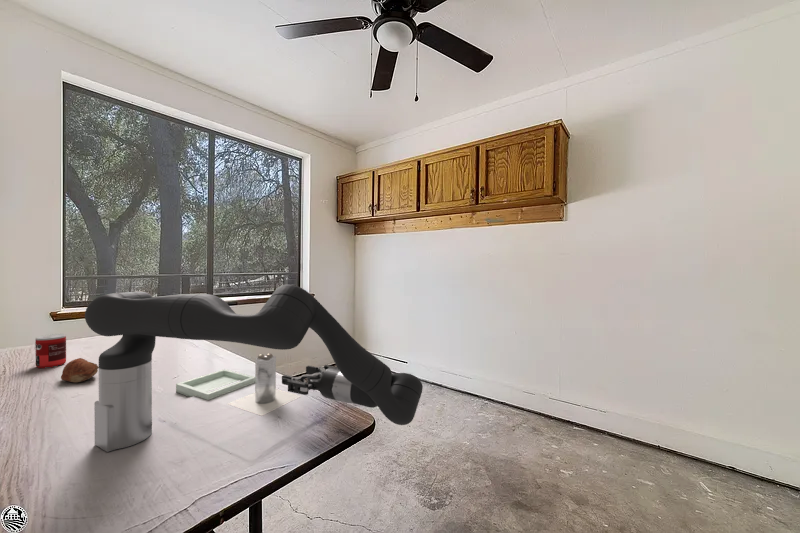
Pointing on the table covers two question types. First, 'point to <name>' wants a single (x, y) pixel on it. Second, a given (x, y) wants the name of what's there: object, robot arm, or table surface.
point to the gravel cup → (265, 379)
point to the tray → (214, 384)
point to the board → (262, 409)
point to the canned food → (50, 350)
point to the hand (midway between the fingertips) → (295, 374)
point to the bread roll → (79, 370)
